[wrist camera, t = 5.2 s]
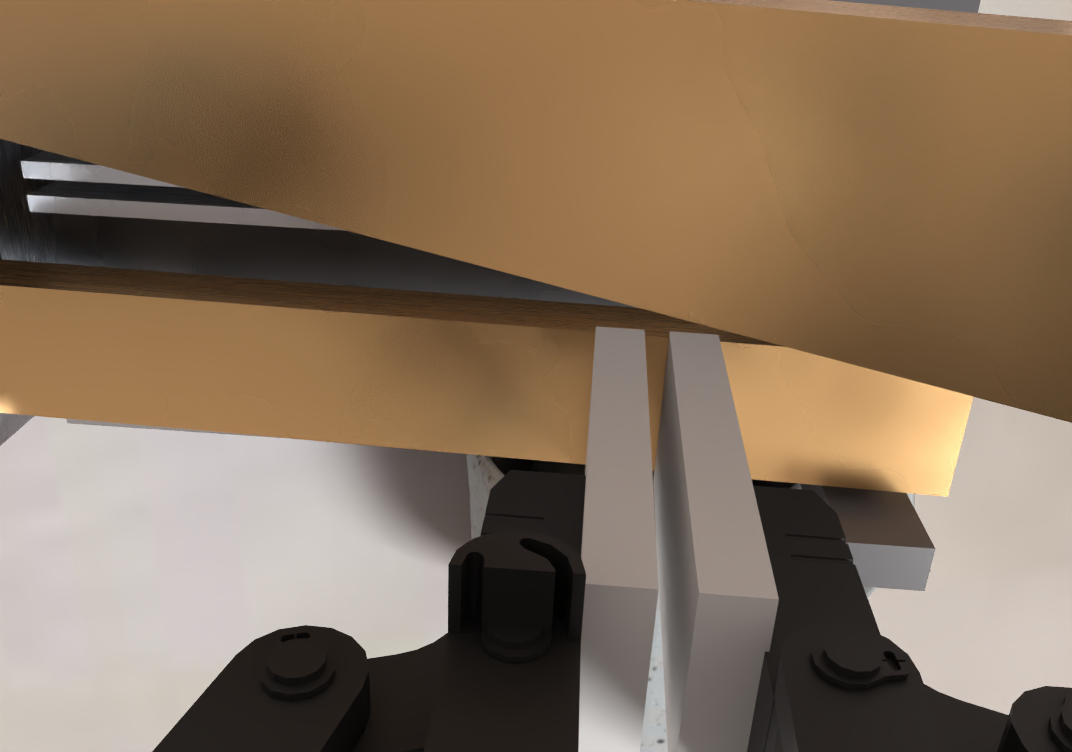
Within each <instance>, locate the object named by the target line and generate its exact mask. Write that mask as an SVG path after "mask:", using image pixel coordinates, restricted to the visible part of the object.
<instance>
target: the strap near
mask: <svg viewBox="0 0 1072 752" xmlns="http://www.w3.org/2000/svg"><path fill="white" fill-rule="evenodd" d="M0 139H3V140H7V141H11V142H15V143H18V144H22V145H26V146H30V147H33V148H37V149H41V150H45V151H49V152H52V153H56V154H60V155H64V156H67V157H71V158H75V159H79V160H83V161H86V162H90V163H94V164H98V165H101V166H105V167H109V168H113V169H117V170H120V171H124V172H128V173H132V174H135V175H139V176H143V177H147V178H150V179H154V180H158V181H162V182H166V183H169V184H173V185H177V186H181V187H184V188H188V189H192V190H196V191H200V192H203V193H207V194H211V195H215V196H218V197H222V198H226V199H230V200H234V201H237V202H241V203H245V204H249V205H252V206H256V207H260V208H264V209H267V210H271V211H275V212H279V213H283V214H286V215H290V216H294V217H298V218H301V219H305V220H309V221H313V222H317V223H320V224H324V225H328V226H332V227H335V228H339V229H343V230H347V231H351V232H354V233H358V234H362V235H366V236H369V237H373V238H377V239H381V240H385V241H388V242H392V243H396V244H400V245H403V246H407V247H411V248H415V249H418V250H422V251H426V252H430V253H434V254H437V255H441V256H445V257H449V258H452V259H456V260H460V261H464V262H468V263H471V264H475V265H479V266H483V267H486V268H490V269H494V270H498V271H502V272H505V273H509V274H513V275H517V276H520V277H524V278H528V279H532V280H535V281H539V282H543V283H547V284H551V285H554V286H558V287H562V288H566V289H569V290H573V291H577V292H581V293H585V294H588V295H592V296H596V297H600V298H603V299H607V300H611V301H615V302H619V303H622V304H626V305H630V306H634V307H637V308H641V309H645V310H649V311H653V312H656V313H660V314H664V315H668V316H671V317H675V318H679V319H683V320H686V321H690V322H694V323H698V324H702V325H705V326H709V327H713V328H717V329H720V330H724V331H728V332H732V333H736V334H739V335H743V336H747V337H751V338H754V339H758V340H762V341H766V342H770V343H773V344H777V345H781V346H785V347H788V348H792V349H796V350H800V351H804V352H807V353H811V354H815V355H819V356H822V357H826V358H830V359H834V360H837V361H841V362H845V363H849V364H853V365H856V366H860V367H864V368H868V369H871V370H875V371H879V372H883V373H887V374H890V375H894V376H898V377H902V378H905V379H909V380H913V381H917V382H921V383H924V384H928V385H932V386H936V387H939V388H943V389H947V390H951V391H954V392H958V393H962V394H966V395H970V396H973V397H977V398H981V399H985V400H988V401H992V402H996V403H1000V404H1004V405H1007V406H1011V407H1015V408H1019V409H1022V410H1026V411H1030V412H1034V413H1038V414H1041V415H1045V416H1049V417H1053V418H1056V419H1060V420H1064V421H1068V422H1072V21H1064V20H1052V19H1041V18H1029V17H1017V16H1005V15H994V14H982V13H970V12H958V11H947V10H935V9H923V8H911V7H899V6H888V5H876V4H864V3H852V2H841V1H829V0H0Z"/></svg>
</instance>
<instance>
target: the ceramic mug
mask: <svg viewBox="0 0 1072 752" xmlns="http://www.w3.org/2000/svg"><path fill="white" fill-rule="evenodd" d="M585 467H586V465H585V464H574V463H563V462H552V461H540V460H529V459H518V458H506V457H495V456H484V455H473V454H467V469H468V480H469V491H470V520H471V540H472V539H474V538H476V537H480V536H481V529H482V525H483V520H484V518H485V512H486V507H487V503H488V498H489V494H490V490H491V488H492V487H493V486H494V485H496V484H497V483H498V482H499V481H500V480H501V479H502V478H503V477H504V476H505V475H506V474H507V473H508V472H509V471H510V470H520V471H533V472H546V473H559V474H572V475H585ZM652 475H653V480H654V471H653V470H652ZM752 484H753V486H764V487H777V488H790V489H802V487H801V484H800V483H789V482H777V481H766V480H755V479H752ZM653 493H654V487H653ZM907 495H908V497H909V499H910V501H911V503H912V505H913V507H914V503H915V494H913V493H907ZM654 511H655V505H654ZM655 529H656V524H655ZM656 548H657V542H656ZM657 566H658V561H657ZM658 584H659V579H658ZM876 589H877V587H864V590H865V593H866V596H867V599H868V598H869V597H870V596H871V595H872V594H873V592H874V591H875V590H876ZM640 752H668V745H667V727H666V708H665V690H664V671H663V653H662V635H661V616H660V598H659V592H658V601H657V609H656V618H655V626H654V635H653V643H652V652H651V660H650V669H649V677H648V686H647V694H646V703H645V711H644V720H643V728H642V737H641V745H640Z"/></svg>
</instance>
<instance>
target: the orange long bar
mask: <svg viewBox="0 0 1072 752" xmlns="http://www.w3.org/2000/svg"><path fill="white" fill-rule="evenodd" d="M596 326H597V327H612V328H626V329H640V330H645V348H646V366H647V384H648V402H649V420H650V439H651V457H652V470H653V471H654V470H655V461H656V452H657V443H658V434H659V424H660V415H661V406H662V397H663V387H664V378H665V369H666V360H667V351H668V341H669V332H684V333H699V334H713V335H719V339H720V343H721V348H722V352H723V357H724V361H725V365H726V370H727V374H728V378H729V383H730V387H731V392H732V396H733V400H734V405H735V409H736V414H737V418H738V422H739V427H740V431H741V435H742V440H743V444H744V449H745V453H746V457H747V462H748V466H749V471H750V475H751V479H755V480H766V481H777V482H789V483H800V484H811V485H823V486H834V487H845V488H856V489H868V490H879V491H890V492H902V493H913V494H924V495H935V496H947V497H948V494H949V490H950V486H951V482H952V478H953V474H954V470H955V466H956V462H957V459H958V455H959V451H960V447H961V443H962V439H963V435H964V431H965V427H966V423H967V420H968V416H969V412H970V408H971V404H972V400H973V396H970V395H966V394H962V393H958V392H954V391H951V390H947V389H943V388H939V387H936V386H932V385H928V384H924V383H921V382H917V381H913V380H909V379H905V378H902V377H898V376H894V375H890V374H887V373H883V372H879V371H875V370H871V369H868V368H864V367H860V366H856V365H853V364H849V363H845V362H841V361H837V360H834V359H830V358H826V357H822V356H819V355H815V354H811V353H807V352H804V351H800V350H796V349H792V348H788V347H785V346H781V345H777V344H773V343H770V342H766V341H762V340H758V339H754V338H751V337H747V336H743V335H739V334H736V333H732V332H728V331H724V330H720V329H717V328H713V327H709V326H705V325H702V324H698V323H694V322H690V321H686V320H683V319H679V318H675V317H671V316H668V315H664V314H660V313H656V312H653V311H649V310H645V309H641V308H634V307H621V306H608V305H595V304H582V303H569V302H555V301H542V300H529V299H516V298H503V297H490V296H477V295H464V294H451V293H438V292H425V291H411V290H398V289H385V288H372V287H359V286H346V285H333V284H320V283H307V282H294V281H281V280H267V279H254V278H241V277H228V276H215V275H202V274H189V273H176V272H163V271H150V270H137V269H123V268H110V267H97V266H84V265H71V264H58V263H45V262H32V261H19V260H6V259H0V413H10V414H21V415H32V416H43V417H55V418H66V419H77V420H89V421H100V422H111V423H123V424H134V425H145V426H156V427H168V428H179V429H190V430H202V431H213V432H224V433H235V434H247V435H258V436H269V437H281V438H292V439H303V440H314V441H326V442H337V443H348V444H360V445H371V446H382V447H393V448H405V449H416V450H427V451H439V452H450V453H461V454H473V455H484V456H495V457H506V458H518V459H529V460H540V461H552V462H563V463H574V464H585V465H586V453H587V440H588V426H589V413H590V399H591V386H592V372H593V359H594V345H595V332H596Z"/></svg>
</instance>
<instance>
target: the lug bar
mask: <svg viewBox="0 0 1072 752" xmlns="http://www.w3.org/2000/svg"><path fill="white" fill-rule="evenodd" d="M829 1H841V2H852V3H864V4H876V5H888V6H899V7H911V8H923V9H935V10H947V11H958V12H970V13H978V9H979V4H980V0H829ZM801 487H802V490H813V491H814V492H815V493H816V494H817V495H818V496H819V497H821V498H822V499H823V500H824V501H825V502H826V503H827V504H828V505H829V506H830V507H831V508H832V509H833V510H834V511H835V512H836V513H837V515H838V517H839V520H840V523H841V526H842V529H843V531H844V534H845V537H846V544H848V545H849V548H850V551H851V554H852V557H853V565H856V568H857V571H858V573H859V576H860V579H861V582H862V585H863V587H877V588H891V589H904V590H918V591H925V587H926V583H927V579H928V575H929V571H930V567H931V563H932V559H933V556H934V552H935V547H934V545H933V544H932V542H931V540H930V538H929V536H928V534H927V532H926V530H925V528H924V526H923V524H922V522H921V520H920V518H919V517H918V515H917V513H916V511H915V509H914V507H913V505H912V503H911V501H910V499H909V497H908V495H907V493H902V492H890V491H879V490H868V489H856V488H845V487H834V486H823V485H811V484H801Z"/></svg>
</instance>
